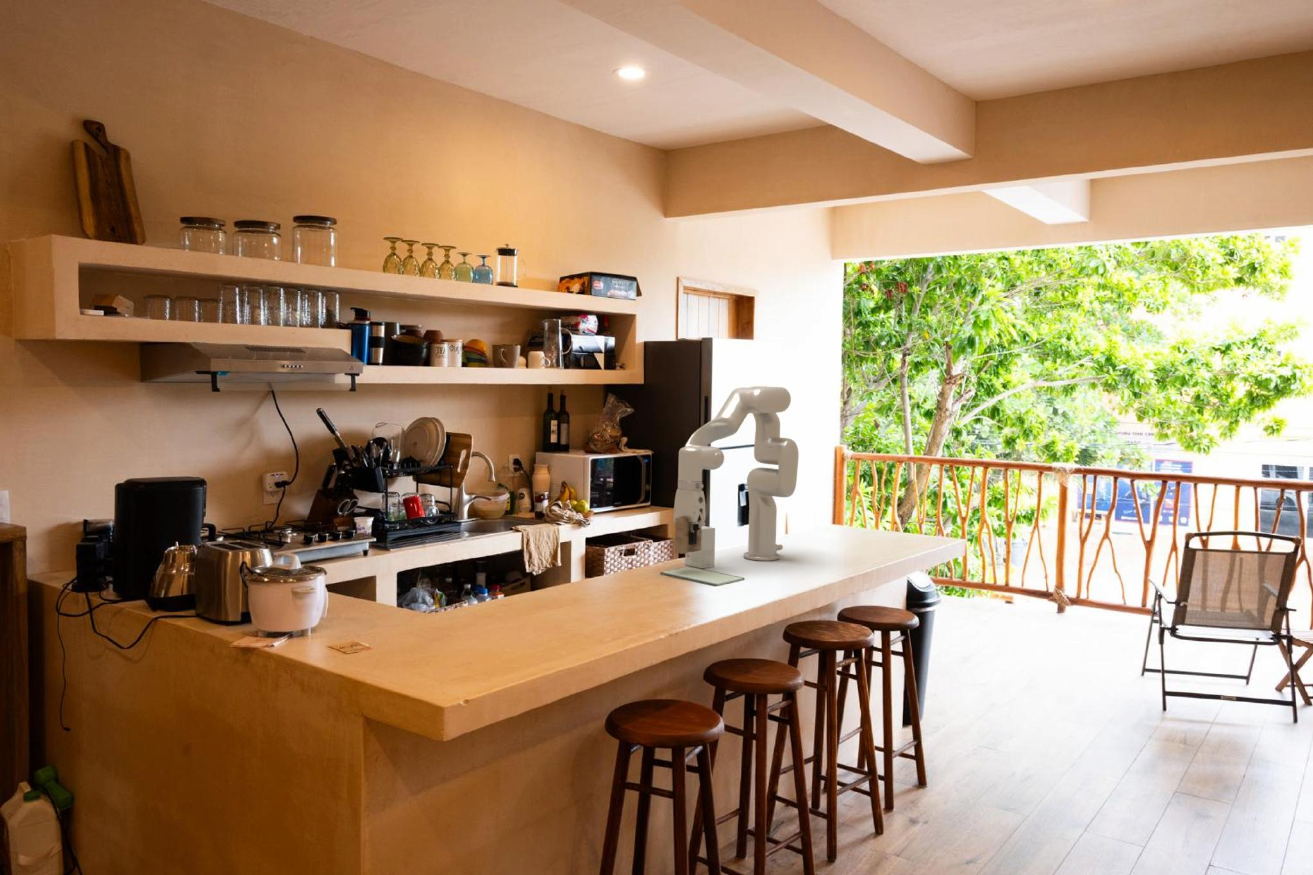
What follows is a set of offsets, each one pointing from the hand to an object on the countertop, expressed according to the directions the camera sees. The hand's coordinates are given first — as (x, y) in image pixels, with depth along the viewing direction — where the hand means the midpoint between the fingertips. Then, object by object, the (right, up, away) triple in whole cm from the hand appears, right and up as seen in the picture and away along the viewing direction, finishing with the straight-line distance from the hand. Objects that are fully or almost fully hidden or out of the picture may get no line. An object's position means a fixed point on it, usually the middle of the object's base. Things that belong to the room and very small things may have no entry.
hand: (688, 542), depth 307 cm
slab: (0, -3, 0) cm, 3 cm away
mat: (+4, -10, -3) cm, 12 cm away
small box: (+4, -9, +15) cm, 18 cm away
